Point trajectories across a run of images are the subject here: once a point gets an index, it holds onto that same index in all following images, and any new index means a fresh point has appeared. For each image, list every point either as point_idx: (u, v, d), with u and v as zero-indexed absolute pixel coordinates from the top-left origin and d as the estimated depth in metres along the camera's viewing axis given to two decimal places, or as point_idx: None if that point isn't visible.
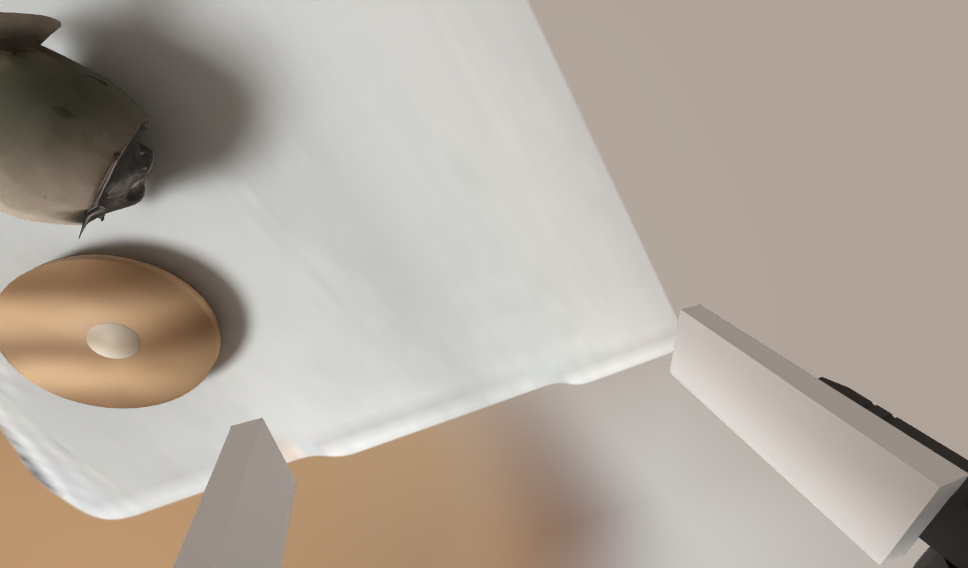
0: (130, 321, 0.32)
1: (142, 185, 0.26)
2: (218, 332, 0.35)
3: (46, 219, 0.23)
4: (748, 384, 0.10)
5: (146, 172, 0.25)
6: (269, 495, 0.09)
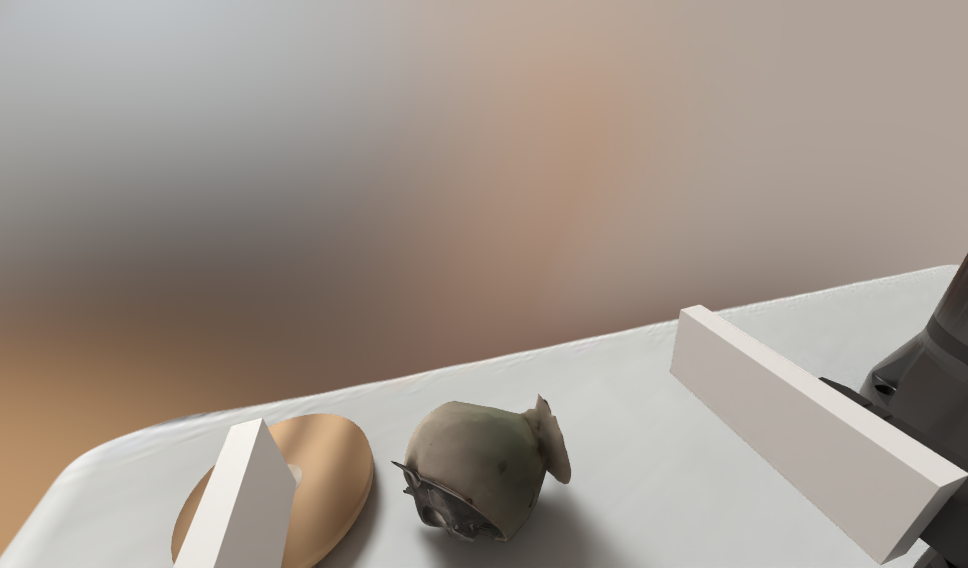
0: (294, 500, 0.30)
1: (438, 524, 0.25)
2: None
3: (411, 445, 0.26)
4: (748, 384, 0.10)
5: (452, 528, 0.24)
6: (269, 495, 0.09)
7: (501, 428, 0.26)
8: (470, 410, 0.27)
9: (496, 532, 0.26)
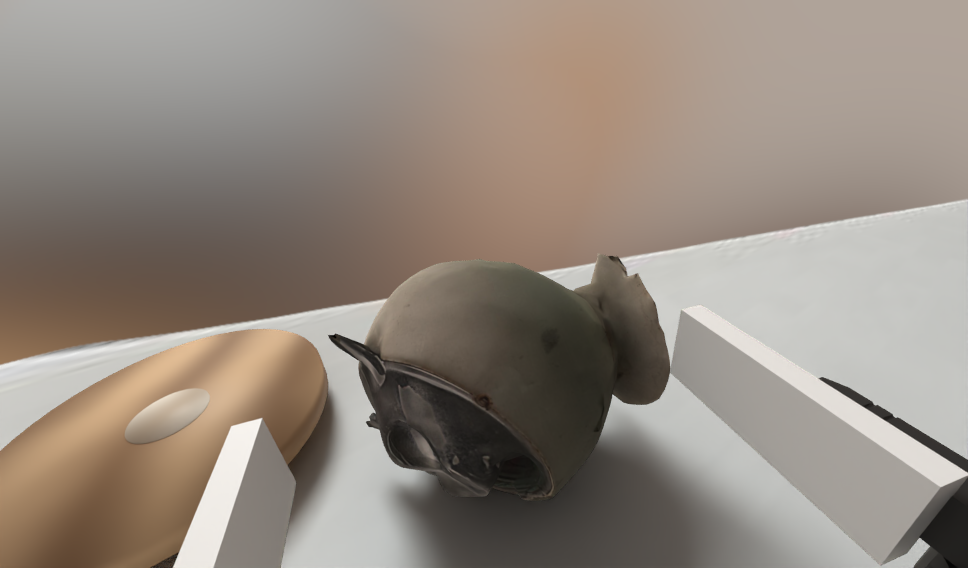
0: (185, 436, 0.18)
1: (420, 463, 0.13)
2: None
3: (373, 323, 0.14)
4: (749, 384, 0.10)
5: (447, 463, 0.12)
6: (269, 495, 0.09)
7: (542, 283, 0.13)
8: (482, 260, 0.15)
9: (529, 484, 0.14)
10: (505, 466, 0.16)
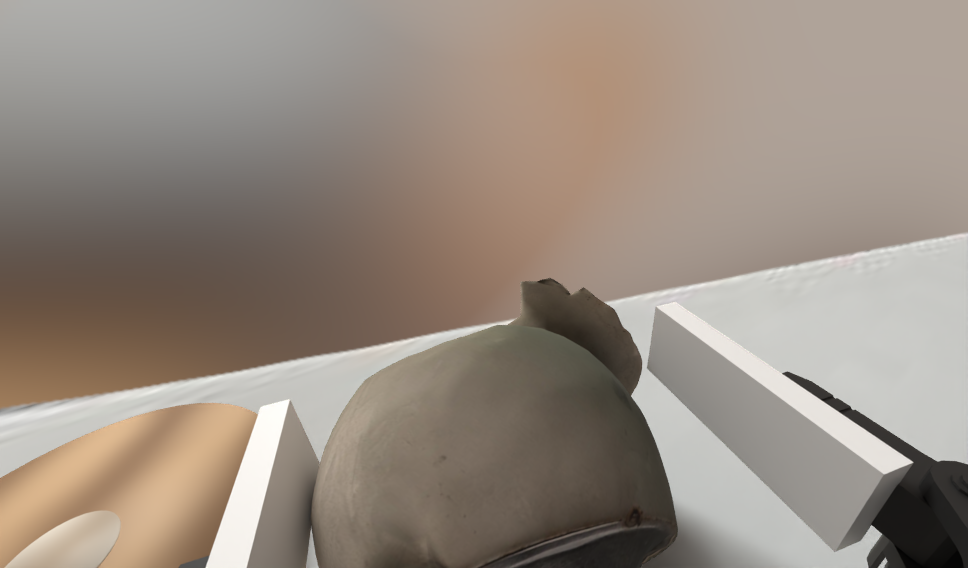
0: None
1: None
2: None
3: (352, 526, 0.08)
4: (717, 378, 0.11)
5: None
6: (297, 471, 0.10)
7: (547, 334, 0.11)
8: (461, 338, 0.10)
9: None
10: None
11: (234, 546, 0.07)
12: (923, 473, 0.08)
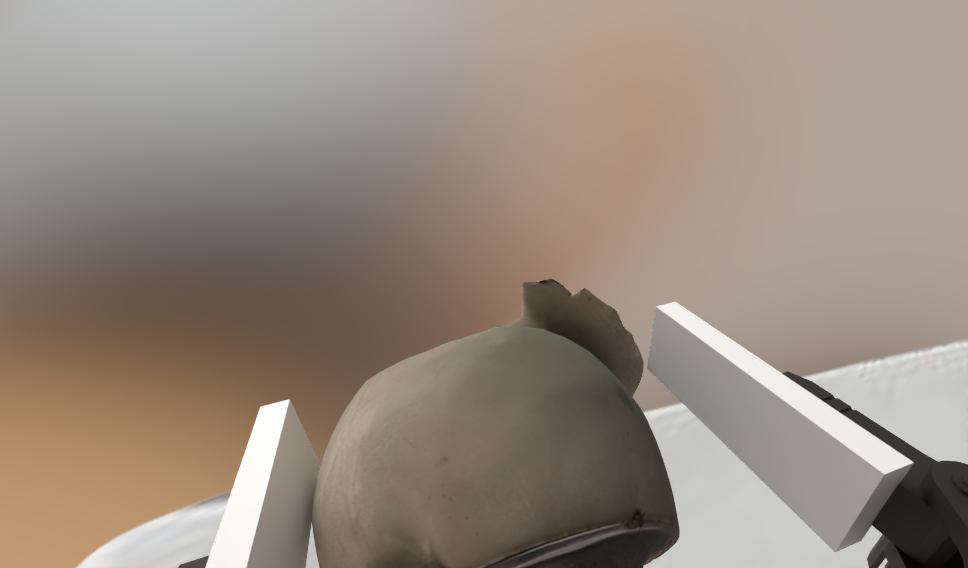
0: None
1: None
2: None
3: (354, 527, 0.08)
4: (717, 378, 0.11)
5: None
6: (297, 471, 0.10)
7: (549, 335, 0.11)
8: (462, 339, 0.10)
9: None
10: None
11: (234, 546, 0.07)
12: (923, 473, 0.08)
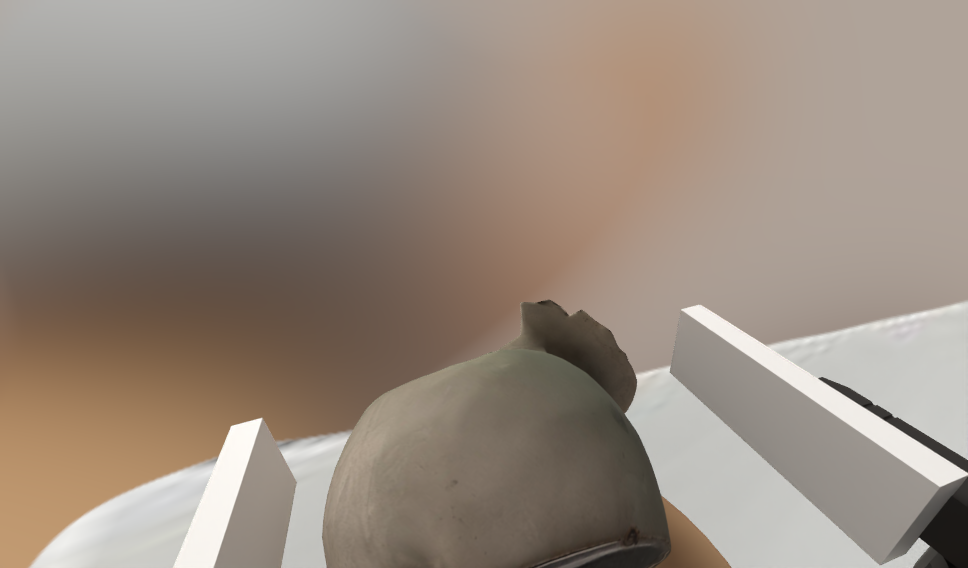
0: None
1: None
2: None
3: (368, 547, 0.08)
4: (749, 384, 0.10)
5: None
6: (269, 495, 0.09)
7: (549, 358, 0.12)
8: (467, 362, 0.11)
9: None
10: None
11: None
12: None
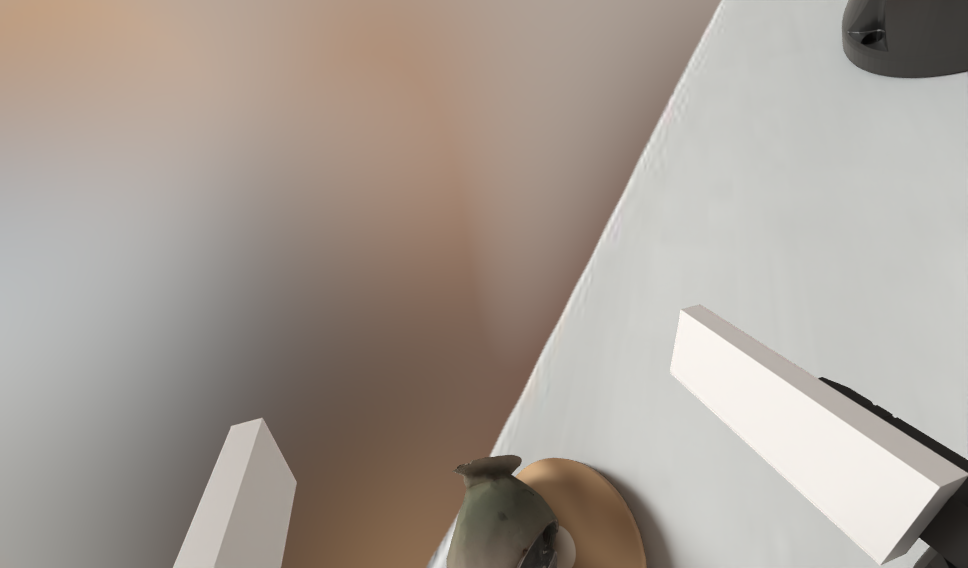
0: (582, 547, 0.33)
1: None
2: None
3: None
4: (748, 384, 0.10)
5: None
6: (269, 495, 0.09)
7: (474, 512, 0.30)
8: (456, 541, 0.30)
9: (552, 528, 0.33)
10: (544, 538, 0.33)
11: None
12: None
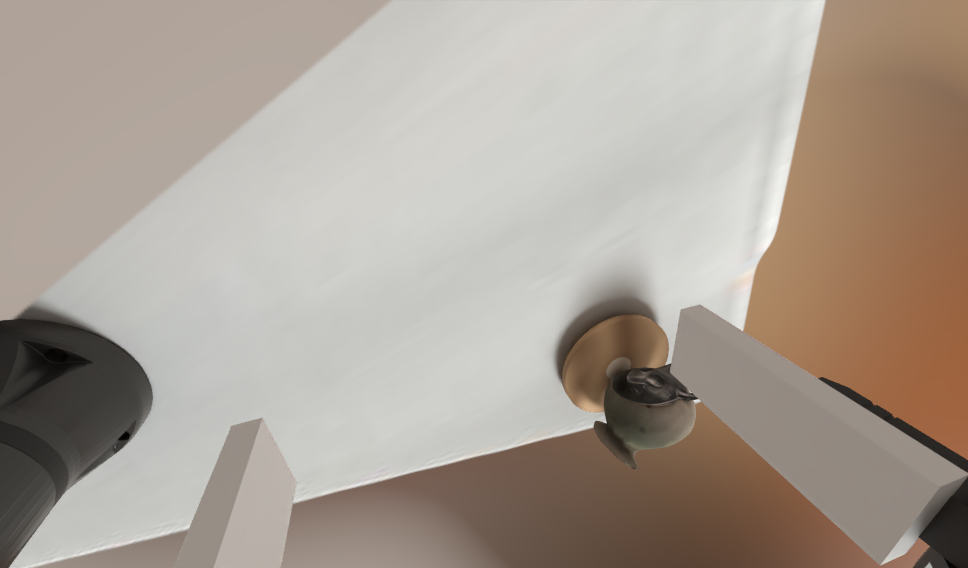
0: (609, 359, 0.48)
1: (650, 376, 0.44)
2: (631, 315, 0.47)
3: (693, 404, 0.43)
4: (749, 384, 0.10)
5: (645, 384, 0.43)
6: (269, 495, 0.09)
7: (653, 445, 0.42)
8: None
9: (615, 384, 0.47)
10: (622, 382, 0.48)
11: None
12: None
